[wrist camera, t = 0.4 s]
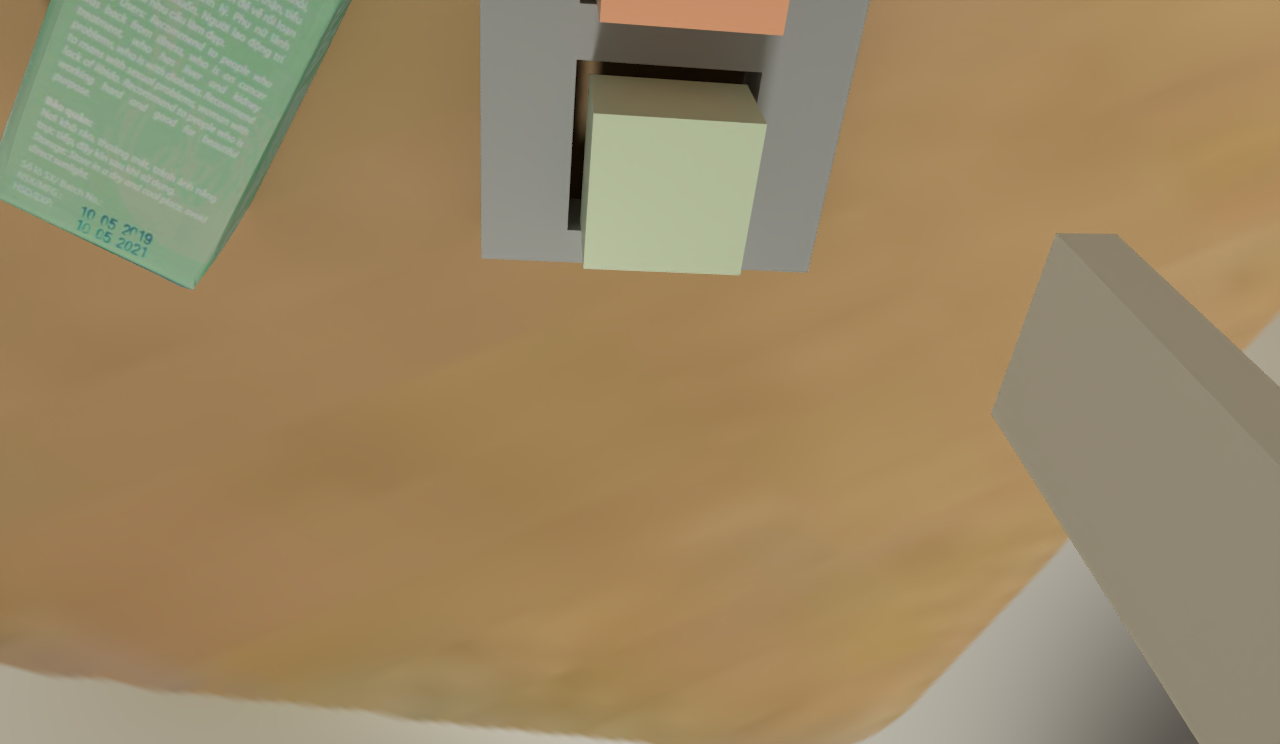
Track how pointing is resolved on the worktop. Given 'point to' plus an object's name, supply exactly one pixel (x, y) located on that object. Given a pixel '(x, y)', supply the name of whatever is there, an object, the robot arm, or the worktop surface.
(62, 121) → the box
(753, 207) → the button board
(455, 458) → the worktop surface
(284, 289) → the worktop surface
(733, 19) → the terracotta button
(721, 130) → the sage button
